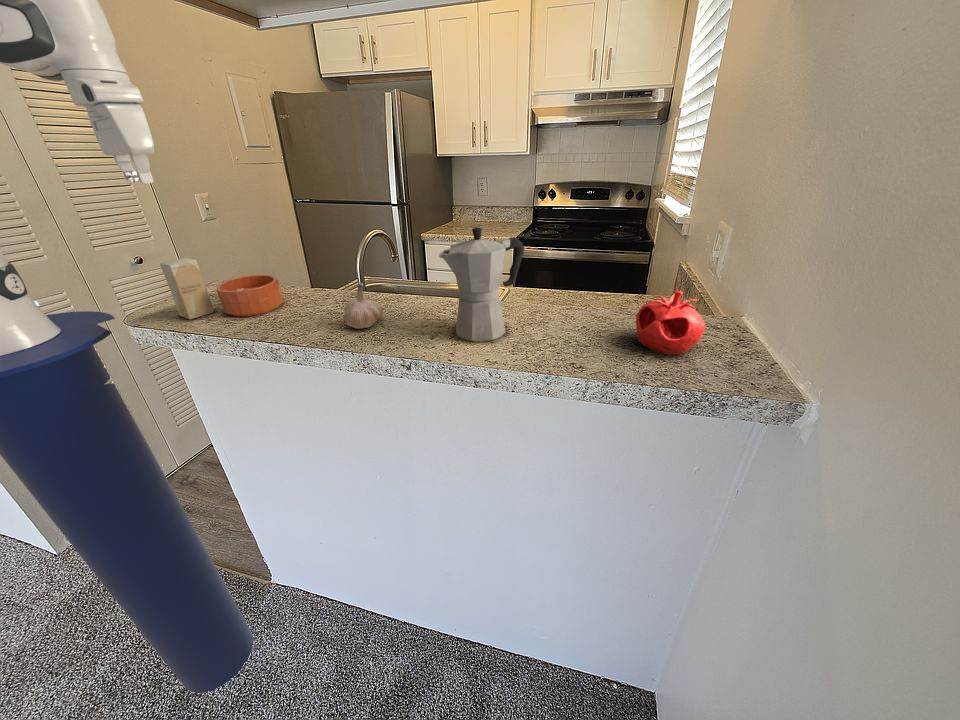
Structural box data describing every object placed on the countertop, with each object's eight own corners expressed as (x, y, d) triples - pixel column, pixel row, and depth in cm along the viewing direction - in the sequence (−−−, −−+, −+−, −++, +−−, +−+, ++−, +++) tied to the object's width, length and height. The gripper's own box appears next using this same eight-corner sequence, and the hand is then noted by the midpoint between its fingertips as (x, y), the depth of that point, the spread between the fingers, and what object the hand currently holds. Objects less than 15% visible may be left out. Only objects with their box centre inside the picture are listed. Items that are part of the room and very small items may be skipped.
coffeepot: (457, 350, 66) (450, 238, 57) (436, 329, 73) (427, 227, 65) (536, 330, 72) (540, 225, 63) (509, 313, 79) (509, 217, 71)
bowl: (217, 320, 81) (208, 294, 78) (233, 301, 90) (225, 277, 88) (278, 313, 83) (271, 288, 80) (287, 295, 93) (281, 272, 90)
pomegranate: (656, 327, 71) (666, 276, 67) (711, 347, 64) (727, 291, 60) (619, 342, 67) (627, 288, 62) (674, 366, 59) (688, 307, 55)
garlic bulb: (378, 313, 81) (371, 274, 77) (391, 325, 76) (385, 284, 72) (340, 322, 78) (332, 282, 74) (352, 335, 72) (343, 292, 69)
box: (189, 320, 81) (167, 266, 76) (179, 316, 83) (157, 263, 78) (216, 311, 85) (196, 259, 80) (206, 307, 87) (186, 256, 82)
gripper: (68, 98, 72) (105, 182, 79) (93, 86, 61) (134, 186, 67) (112, 100, 77) (144, 179, 83) (143, 88, 65) (177, 182, 72)
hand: (140, 182), depth 75 cm, fingers open, 8 cm apart
